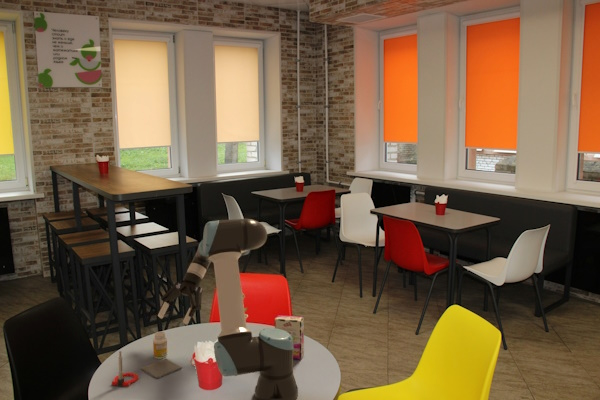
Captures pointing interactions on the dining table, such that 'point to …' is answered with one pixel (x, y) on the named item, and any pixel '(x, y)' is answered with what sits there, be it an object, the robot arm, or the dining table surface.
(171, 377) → the dining table surface
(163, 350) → the supplement bottle
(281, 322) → the candy bar box
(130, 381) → the tow hook
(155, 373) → the coaster
